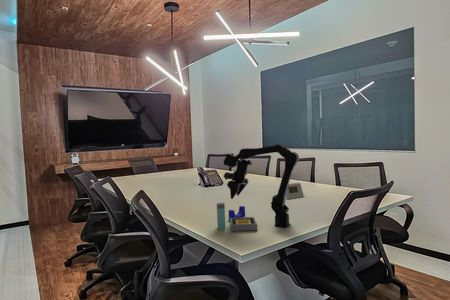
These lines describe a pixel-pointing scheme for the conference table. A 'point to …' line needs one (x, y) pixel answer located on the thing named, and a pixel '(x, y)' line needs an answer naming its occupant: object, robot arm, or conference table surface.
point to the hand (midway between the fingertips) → (234, 197)
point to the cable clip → (239, 214)
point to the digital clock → (294, 191)
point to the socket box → (243, 224)
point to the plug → (221, 216)
